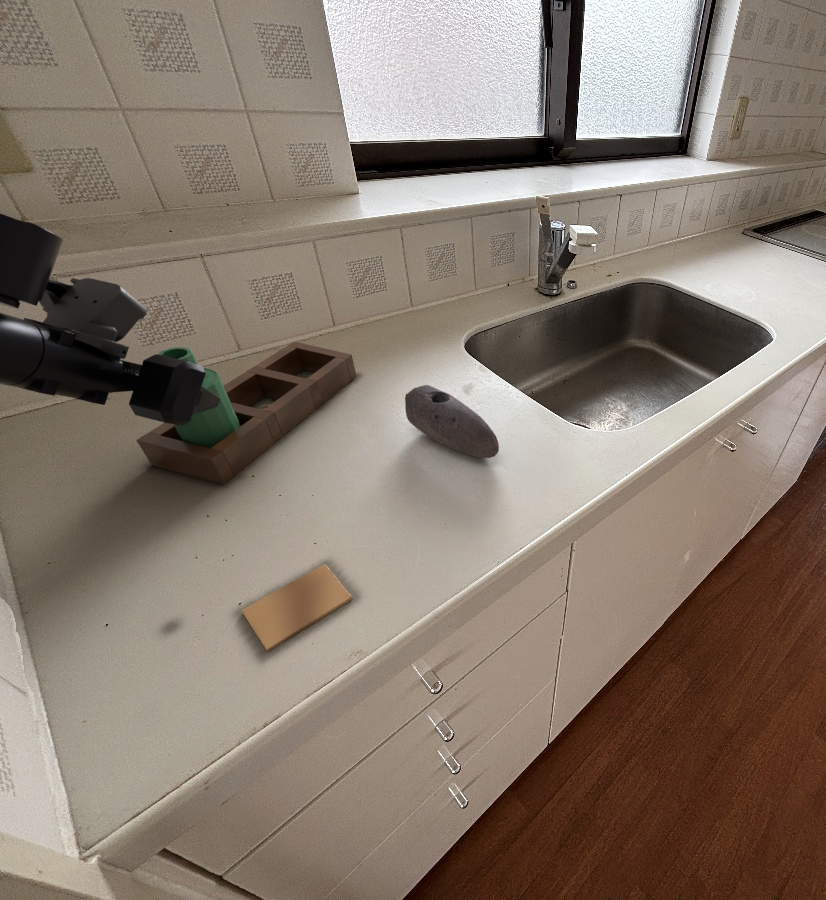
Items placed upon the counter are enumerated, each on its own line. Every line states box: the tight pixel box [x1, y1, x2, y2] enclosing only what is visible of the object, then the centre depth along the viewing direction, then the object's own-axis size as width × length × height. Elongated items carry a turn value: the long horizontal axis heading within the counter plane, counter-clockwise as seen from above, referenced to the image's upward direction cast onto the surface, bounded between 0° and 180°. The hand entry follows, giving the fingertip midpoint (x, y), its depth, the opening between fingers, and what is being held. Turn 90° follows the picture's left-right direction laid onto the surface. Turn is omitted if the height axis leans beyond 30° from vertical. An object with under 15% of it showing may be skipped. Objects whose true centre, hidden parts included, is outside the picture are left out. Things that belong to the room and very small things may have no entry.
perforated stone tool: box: [404, 384, 500, 459], centre depth 68 cm, size 15×5×7 cm, turn 58°
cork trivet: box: [241, 563, 353, 652], centre depth 49 cm, size 8×6×1 cm
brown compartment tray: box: [136, 341, 357, 485], centre depth 69 cm, size 27×10×4 cm, turn 167°
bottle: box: [157, 346, 241, 448], centre depth 60 cm, size 6×6×14 cm
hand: (182, 393), depth 57 cm, fingers open, 9 cm apart
